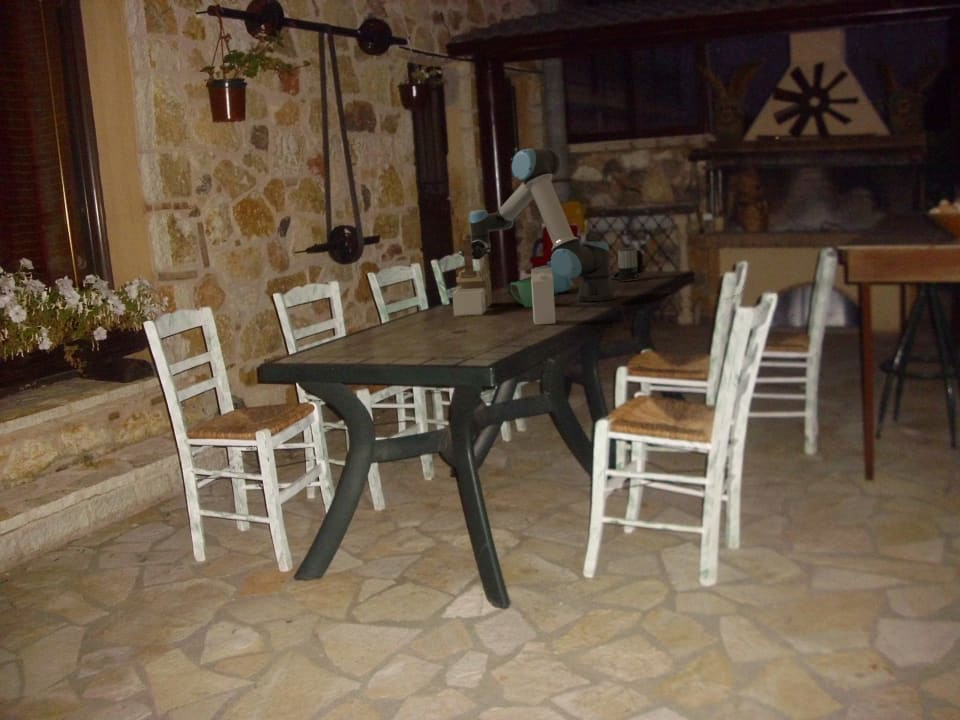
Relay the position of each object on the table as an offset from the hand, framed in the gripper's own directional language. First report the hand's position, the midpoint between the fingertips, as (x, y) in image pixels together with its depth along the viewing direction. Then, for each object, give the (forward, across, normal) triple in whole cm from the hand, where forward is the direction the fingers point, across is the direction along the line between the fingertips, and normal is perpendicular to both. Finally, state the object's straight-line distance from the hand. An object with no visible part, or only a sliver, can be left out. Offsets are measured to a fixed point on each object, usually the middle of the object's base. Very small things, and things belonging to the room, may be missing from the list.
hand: (468, 255), depth 372 cm
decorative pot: (-43, -28, -22) cm, 56 cm away
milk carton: (+39, -31, -22) cm, 54 cm away
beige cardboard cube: (+7, 0, -22) cm, 23 cm away
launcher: (-8, 0, -22) cm, 23 cm away
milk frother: (-76, -59, -22) cm, 99 cm away
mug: (-6, -20, -22) cm, 31 cm away
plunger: (+2, 0, -8) cm, 8 cm away
